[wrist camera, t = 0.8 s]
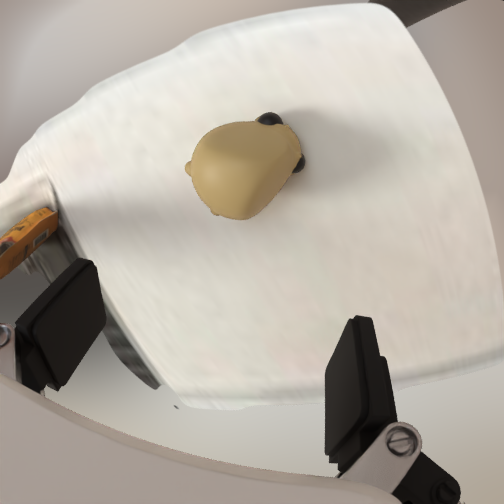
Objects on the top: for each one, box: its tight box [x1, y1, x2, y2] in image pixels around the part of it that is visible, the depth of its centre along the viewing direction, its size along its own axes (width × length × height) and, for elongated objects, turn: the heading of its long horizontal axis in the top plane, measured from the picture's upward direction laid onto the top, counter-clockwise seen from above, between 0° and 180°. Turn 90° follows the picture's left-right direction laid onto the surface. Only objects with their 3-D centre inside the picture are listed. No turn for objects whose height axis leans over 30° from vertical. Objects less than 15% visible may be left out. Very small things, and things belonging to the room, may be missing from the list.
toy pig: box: [185, 112, 305, 220], centre depth 31 cm, size 10×12×11 cm
